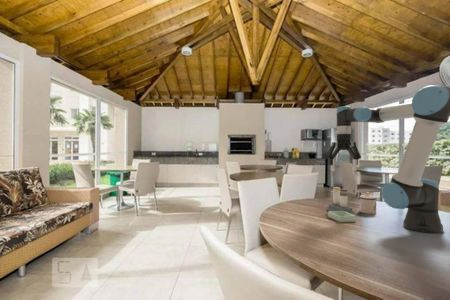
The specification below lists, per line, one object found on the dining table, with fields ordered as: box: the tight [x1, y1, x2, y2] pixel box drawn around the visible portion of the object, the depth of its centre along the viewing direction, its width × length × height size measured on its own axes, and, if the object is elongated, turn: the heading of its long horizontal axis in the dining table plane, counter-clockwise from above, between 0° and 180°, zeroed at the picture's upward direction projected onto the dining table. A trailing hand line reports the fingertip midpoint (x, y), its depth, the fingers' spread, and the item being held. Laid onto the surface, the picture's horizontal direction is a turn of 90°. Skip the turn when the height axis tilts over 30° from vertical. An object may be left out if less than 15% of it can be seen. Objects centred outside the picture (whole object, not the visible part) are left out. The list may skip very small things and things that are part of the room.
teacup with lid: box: [359, 191, 377, 215], centre depth 160 cm, size 12×9×12 cm
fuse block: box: [326, 202, 355, 215], centre depth 158 cm, size 14×8×4 cm, turn 9°
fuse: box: [332, 186, 341, 205], centre depth 162 cm, size 4×4×12 cm
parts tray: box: [327, 210, 357, 223], centre depth 143 cm, size 11×9×3 cm
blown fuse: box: [340, 188, 348, 208], centre depth 155 cm, size 4×4×12 cm
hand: (343, 171), depth 155 cm, fingers open, 13 cm apart
